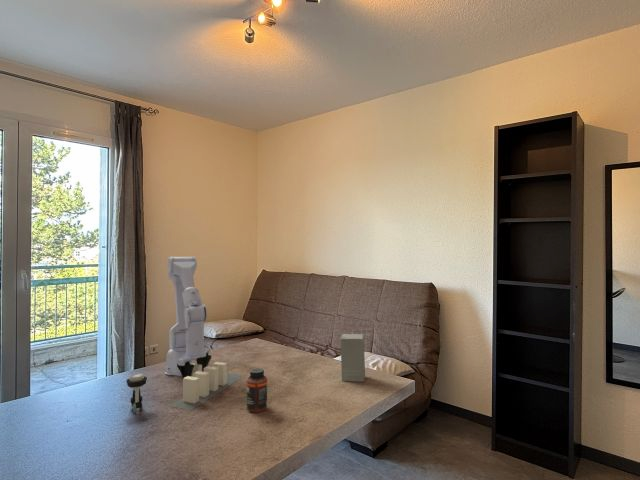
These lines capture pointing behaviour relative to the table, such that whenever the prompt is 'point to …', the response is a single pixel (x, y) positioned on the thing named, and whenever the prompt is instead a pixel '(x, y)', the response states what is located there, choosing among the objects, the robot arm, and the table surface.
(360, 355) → the skincare box
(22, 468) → the table surface
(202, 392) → the domino
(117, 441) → the table surface
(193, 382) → the domino
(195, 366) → the domino
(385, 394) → the table surface
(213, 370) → the domino
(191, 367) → the robot arm
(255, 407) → the supplement bottle
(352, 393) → the table surface
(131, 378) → the push button
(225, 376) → the domino
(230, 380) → the mat
